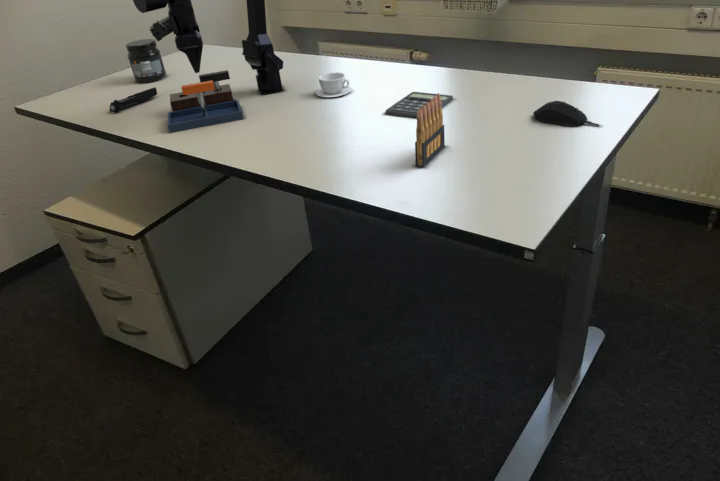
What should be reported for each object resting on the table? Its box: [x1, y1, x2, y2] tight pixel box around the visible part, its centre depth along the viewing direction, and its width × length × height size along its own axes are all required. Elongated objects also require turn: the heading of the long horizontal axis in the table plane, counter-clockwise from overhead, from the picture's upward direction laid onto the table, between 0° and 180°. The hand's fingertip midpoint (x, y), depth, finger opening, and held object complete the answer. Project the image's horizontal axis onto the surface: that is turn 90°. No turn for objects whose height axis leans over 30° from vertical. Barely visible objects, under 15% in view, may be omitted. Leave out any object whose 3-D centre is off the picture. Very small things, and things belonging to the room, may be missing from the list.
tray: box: [167, 99, 244, 133], centre depth 146 cm, size 19×11×2 cm, turn 106°
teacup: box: [315, 72, 352, 98], centre depth 154 cm, size 10×10×5 cm
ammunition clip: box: [414, 92, 446, 168], centre depth 111 cm, size 11×2×12 cm, turn 149°
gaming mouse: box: [532, 100, 600, 127], centre depth 122 cm, size 6×15×4 cm, turn 49°
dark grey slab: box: [198, 69, 231, 91], centre depth 153 cm, size 8×2×9 cm, turn 106°
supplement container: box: [125, 38, 167, 84], centre depth 183 cm, size 10×10×12 cm
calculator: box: [385, 91, 454, 118], centre depth 139 cm, size 12×1×15 cm
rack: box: [169, 83, 234, 112], centre depth 153 cm, size 17×7×4 cm, turn 106°
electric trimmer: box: [108, 86, 158, 114], centre depth 163 cm, size 4×16×3 cm, turn 142°
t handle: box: [180, 81, 215, 118], centre depth 144 cm, size 8×2×9 cm, turn 106°
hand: (196, 68), depth 142 cm, fingers open, 9 cm apart
